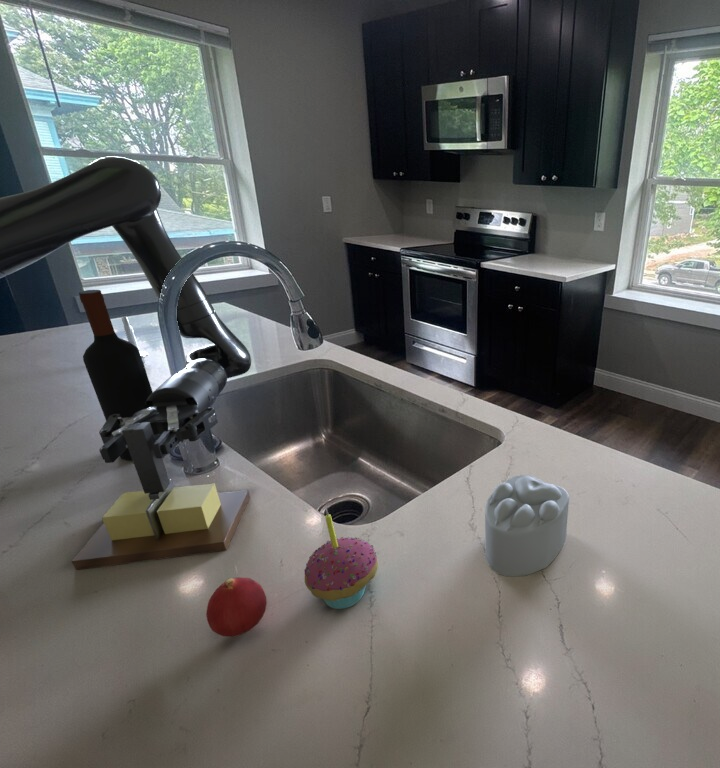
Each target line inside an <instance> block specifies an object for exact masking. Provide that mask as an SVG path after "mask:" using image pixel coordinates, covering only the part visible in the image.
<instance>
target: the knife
mask: <svg viewBox="0 0 720 768" xmlns="http://www.w3.org/2000/svg"><path fill="white" fill-rule="evenodd" d="M122 433H123V436H124V438H125V441H126V444H127V447H128V449H129V452H130V455H131V458H132V460H133V461H132V463H133V466H134V468H135V471H136V474H137V475H138V480H139V483H140V485H141V487H142V491H144V493H145V494H146V493H150V494H149V495H148V496H149V498H150V500H151V499H154V500H153V501H152V502H151V504H150V505H149V506H148V508H147V509H146V510H145V511H146V514H147V516H148V519H149V522H150V525H151V527H152V530H153V533H154V535H155V538H156V539H159V537H160V536H161V534H162V533H163V531H164V530H163V527H162V524H161V522H160V519H159V516H158V513H157V511H158V509H159V508H160V506H161V505H162V504H163V502H164V501H165V499H166V498H167V496H168V495H169V494H170V492H171V491H172V489H173V488H175V487H176V485H175V482H174V479H173V477H169V476H168V473H167V469H166V467H165V464H164V461H163V458H156V456H155V454H154V451H153V444H154V442H155V441H156V440H155V437H154V434H153V431H152V428H151V425H150V422H146V423H132V424H129V425H128V426H127V427H125V428H124V429H123V430H122Z"/></svg>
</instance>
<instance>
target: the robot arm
mask: <svg viewBox="0 0 720 768" xmlns="http://www.w3.org/2000/svg"><path fill="white" fill-rule="evenodd" d="M161 199H162V189H161V185H160V182H159V181H158V178H157V177H156V176H155V174H154V173H153V172H152V171H151V170H150V169H148V167H146V166H145V165H143V164H141V163H140V162H138V161H136V160H133V159H130V158H126V157H123V156H115V155H114V156H104V157H100V158H98V159H95V160H94V161H93V162H91V163H89V164H87V165H86V166H84V167H81V168H80V169H78V170H76V171H74V172H72V173H70V174H67V175H65V176H63V177H62V178H60V179H57V180H55V181H53V182H51V183H49V184H46V185H43V186H40V187H37V188H35V189H32V190H27V191H25V192H20V193H16V194H13V195H7V196H3V197H0V279H2V278H4V277H6V276H9V275H11V274H13V273H15V272H18V271H20V270H22V269H24V268H26V267H28V266H30V265H32V264H34V263H36V262H38V261H40V260H42V259H43V258H45V257H47V256H49V255H50V254H52V253H54V252H55V251H58V250H59V249H61V248H62V247H64V246H66V245H67V244H69V243H71V242H73V241H75V240H77V239H80V238H81V237H85V236H87V235H90V234H92V233H95V232H98V231H101V230H105V229H107V228H110V227H112V228H113V229H114V230H115V231H116V233H117V234H118V236H119V237H120V238H121V240H122V241H123V242H124V244H125V245H126V247H127V248H128V249H129V251H130V252H131V254H132V256H133V257H134V259H135V260H136V261H137V263H138V265H139V267H140V268H141V271H142V272H143V274H144V275H145V277H146V279H147V281H148V283H149V284H150V286H151V289H152V290H153V292H154V294H155V296H156V297H157V299H158V300H159V298H160V293H161V289H162V285H163V283H164V280H165V278H166V276H167V275H168V273H169V272H170V270H171V269H172V268H173V267H174V266H175V264H176V263H177V262H178V261H179V260H180V259H183V258H182V256H181V254H180V253H179V251H178V250H177V249H176V247H175V245H174V243H173V242H172V240H171V238H170V237H169V235H168V232H167V230H166V228H165V226H164V224H163V221H162V219H161V217H160V213H159V210H158V208H159V206H160V204H161ZM177 321H178V326H179V330H180V334H179V335H180V336H181V338H184V339H205V340H208V342H209V341H210V342H211V343H212V344H207V345H205V346H200V347H198V348H195V349H193V350H191V351H189V352H188V353H187V355H185V358H184V362H185V361H186V367H185V368H183V367H182V368H183V369H182V368H181V369H182V370H181V369H179V370H178V371H177V372H178V373H177V372H175V373H174V374H172V375H171V376H169V377H168V378H167V379H166V380H165V381H164V382H163V383H161V384H160V386H158V387H157V388H156V389H154V391H152V392H153V393H152V394H151V395H150V396H149V397H148V399H147V401H146V403H145V406H144V408H143V410H141V411H139V412H136V413H135V414H134V415H133V417H127V418H122V417H121V416H120V414H113V415H111V416H109V418H108V419H107V421H106V420H105V422H104V424H103V425H102V427H101V428H100V430H99V431H98V433H99V436H100V438H101V441H102V444H103V445H102V446H101V447H99V453H100V456H101V458H102V460H103V461H104V462H105V463H106V464H112V463H115V462H116V461H117V459H119V458H120V455H121V454H122V453H123V452H124V451H125V450H126V449H127V444H126V441H125V438H124V436H123V433H122V430H123V429H124V428H125V427H127V426H128V425H129V424H132V423H146V422H150V425H151V428H152V431H153V434H154V435H159V434H162V435H161V436H160V437H159V438H158V439H157V440H156V441H155V442H154V444H153V451H154V454H155V456H156V458H162V459H164V458H165V457H166V456H167V455H169V454H170V453H172V451H173V450H174V449H175V448H176V447H177V446H178V445H181V444H183V443H184V441H186V440H188V442H196V441H198V440H199V439H200V438H202V437H203V436H205V434H207V432H209V431H210V430H211V429H212V428H214V427H215V426H217V424H218V423H219V421H218V417H217V412H216V409H215V407H214V406H213V405H214V403H215V402H216V400H217V398H218V396H219V395H220V394H221V392H222V391H223V390H224V388H225V387H226V384H227V382H228V379H231V378H235V377H238V376H242V375H243V374H246V373H248V372H249V370H250V369H251V366H252V356H251V354H250V351H249V350H248V348H247V347H246V346H245V344H244V343H243V342H242V341H241V340H240V339H239V338H238V337H237V336H236V334H234V333H233V332H232V331H231V330H230V329H229V328H228V326H227V325H226V324H225V322H223V321H222V319H221V318H220V316H218V313H217V311H216V310H215V308H214V306H213V305H212V303H211V301H210V299H209V297H208V295H207V293H206V292H205V290H204V288H203V286H202V285H201V283H200V282H199V280H198V278H197V277H196V276H195V274H194V273H193V274H192V275H191V276H190V277H189V278H188V279H187V281H186V282H185V284H184V286H183V287H182V290H181V293H180V296H179V300H178V306H177ZM186 368H187V369H186Z"/></svg>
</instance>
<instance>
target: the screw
mask: <svg viewBox="0 0 720 768" xmlns="http://www.w3.org/2000/svg"><path fill="white" fill-rule="evenodd" d="M121 321H122V325H123V330H124V332H125V334H124V335H125V336H126V339H127V341H129V342H131V343H132V344H133V345H135V346H136V347H137V348H138V350H139V352H140V354H141V358H142V361H143V364H144V363H146V360H145V358H147V357H148V356H149V353H148V352H146V351H140V347H139V345H138V341H137V339H136V338H137V337H136V335H135V332H134V328H133V326H132V325H131V323H130V321H129V318H128V316H125V315H124V316H122V317H121Z"/></svg>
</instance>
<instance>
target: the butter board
mask: <svg viewBox="0 0 720 768" xmlns="http://www.w3.org/2000/svg"><path fill="white" fill-rule="evenodd" d="M217 493H218V496H219V500H220V503H221V505H220V507H219V509H218V511H217V513H216V515H215V517H214V519H213V521H212V522H211V524H210V526H209V528H208V529H202V530H194V531H186V532H178V533H169V534H165V533H164V531H163V533H162V534H161V536H160V537H159V539H156V538H155V535H153V536H145V537H136V538H128V539H120V540H111V538H110V535H109V533H108V531H107V528H106V526H105V524H104V522H102V524H101V526H99V527H98V529H97V530H96V531H95V532H94V534H92V536H91V538H89V540H88V541H87V542H86V543H85V544H84V546H83V547H82V548H81V549H80V550H79V552H78V553H77V554H76V555H75V556H74V558H73V559H72V560H71V563H72V566H73V567H74V569H75V571H77V570H84V569H85V570H86V569H93V568H94V569H95V568H100V567H107V566H115V565H116V566H117V565H123V564H131V563H139V562H147V561H153V560H161V559H162V560H163V559H169V558H177V557H184V556H185V557H186V556H193V555H200V554H207V553H215V552H216V553H217V552H221V551H223V552H224V551H227V549H228V548H229V546H230V543H231V541H232V538H233V536H234V535H235V532H236V530H237V527H238V525H239V523H240V521H241V518H242V516H243V514H244V512H245V510H246V507H247V506H248V503H249V501H250V498H251V495H250V491H249V489H244V490H234V491H225V492H224V491H223V492H217Z"/></svg>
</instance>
